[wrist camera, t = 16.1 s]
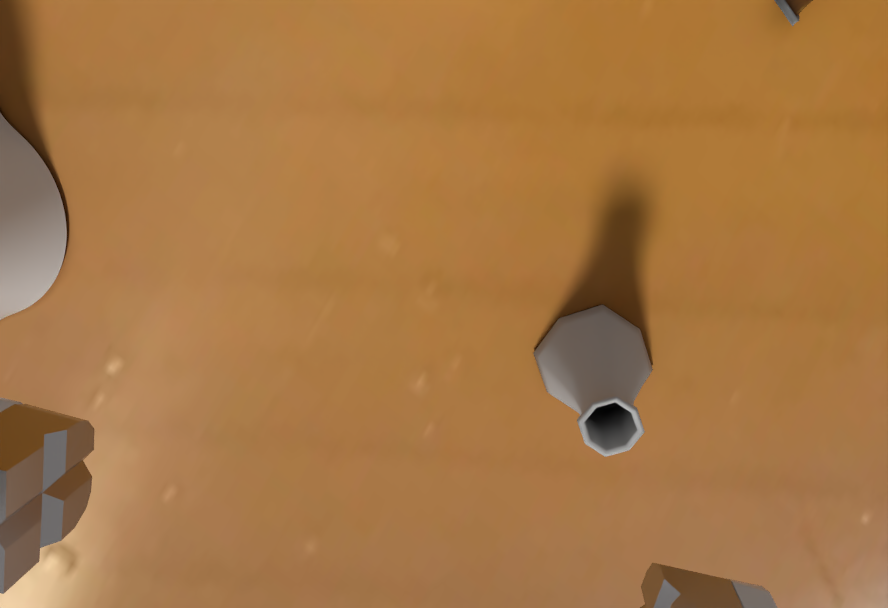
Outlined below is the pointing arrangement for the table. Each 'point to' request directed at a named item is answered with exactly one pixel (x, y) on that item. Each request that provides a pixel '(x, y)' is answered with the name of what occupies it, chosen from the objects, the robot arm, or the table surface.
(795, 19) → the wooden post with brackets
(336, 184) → the table surface
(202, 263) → the table surface
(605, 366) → the flask
